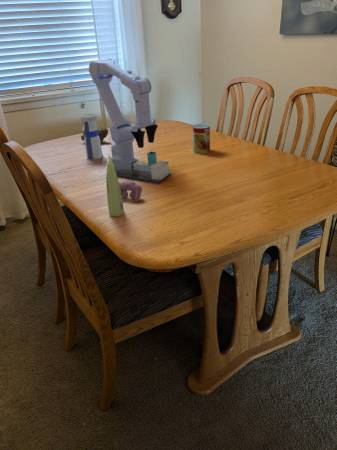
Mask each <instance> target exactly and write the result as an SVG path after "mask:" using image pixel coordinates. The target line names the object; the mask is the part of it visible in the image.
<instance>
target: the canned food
mask: <svg viewBox="0 0 337 450" xmlns="http://www.w3.org/2000/svg"><path fill="white" fill-rule="evenodd" d="M192 150H193V151H192V152H193V153H194V154H199V155H205V154H208V153H210V151H211V126H210V124H207V123H197V124H194V125H192Z"/></svg>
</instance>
